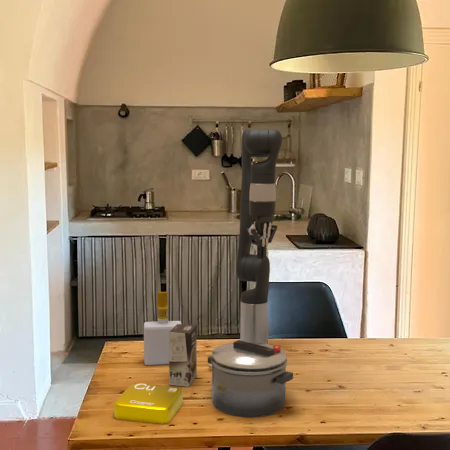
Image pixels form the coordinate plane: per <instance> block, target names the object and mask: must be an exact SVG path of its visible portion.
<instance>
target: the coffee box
mask: <svg viewBox="0 0 450 450" xmlns="http://www.w3.org/2000/svg"><path fill="white" fill-rule="evenodd" d="M197 328H198V327H197V324H188V323H187V324H182V323H181V324H177V325H176V326H175V327H174V328H173V329H172V330H171V331H170V332H169V364H168V386H175V387H178V386H179V387H186V388H188V387H190V386H191V385H192V383H193V381H194V380H195V379H196V377H197V372H198V371H197V366H198V365H197V364H198V363H197V361H198V359H197V357H198V356H197V355H198V352H197V348H198V347H197V346H198V344H197V343H198V342H197V341H198V339H197V337H198V336H197V334H198V333H197Z"/></svg>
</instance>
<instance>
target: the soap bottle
mask: <svg viewBox="0 0 450 450" xmlns="http://www.w3.org/2000/svg"><path fill="white" fill-rule="evenodd" d="M168 293H169V292H168V291H157V310H158V312H159V313H160V314H158V315H157V321H145V322H144V323H143V358H144V360H143V361H144V365H145V366H156V365H157V366H158V365H159V366H161V365H169V332H170V331H171V330H172V329H173V328H174V327H175V326H176V325H177V324H182V321H181V320H169V315H168V314H166V313H167V312H168V310H169V306H168V304H169V303H168Z"/></svg>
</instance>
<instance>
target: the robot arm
mask: <svg viewBox="0 0 450 450" xmlns="http://www.w3.org/2000/svg"><path fill="white" fill-rule="evenodd" d="M282 144H283V137H282V133H281V132H280V131H279V130H278V129H275V128H250V129H249V128H248V129H247V128H245V129H244V130H243V132H242V135H241V185H240V186H241V188H240V200H239V201H240V202H239V234H238V235H239V236H238V237H239V238H238V245H237V252H236V253H237V254H236V265H235V266H236V267H235V273H236V277H237V279H238V280H239V281H244V282H251V283H252V282H253V283H255V287H254V288H252V289H248V290H244V291H242V292H241V294H240V327H239V328H240V332H239V333H240V334H239V335H240V336H239V340H240V341H244V342H258V343H265V344H269V323H270V322H269V321H268V308H269V307H268V303H269V299H268V298H269V291H270V290H269V288H270V287H269V286H270V274H271V263H270V262H271V261H270V259H269V257H268V256H267V255H268V254H267V251H268V250H267V249H268V248H267V247H268V245H269V244H271V243H272V242H273V239H274V237H275V234H276V232H277V229H278V225H277V224H274V220H273V217H274V216H275V215H276V201H277V200H276V197H277V196H276V195H277V193H276V192H277V191H276V166H277V162H278V161H277V160H278V156H279V153H280V150H281V147H282ZM251 158H267V159H265V160H263V161H258V162H254V163H252V159H251ZM252 245H255V247H256V254H252V253H251V247H252Z"/></svg>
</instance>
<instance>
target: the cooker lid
mask: <svg viewBox="0 0 450 450" xmlns="http://www.w3.org/2000/svg"><path fill="white" fill-rule="evenodd" d="M211 354H212V355H211V356H212V358H213V360H214V361H215V362H217V363H219V364H221V365H224V366H227V367H231V368H237V369H247V370H259V369H268V368H273V367H277V366H280V365H282V364H283V363H284V362H285V361H286V358H287V353H286V351H285V350H284V349H282V348H281V345H278V344H277V345H273V344H269V343H268V344H265V343H258V342H244V341H240V339H239V340H236V341H233V342H228V343H224V344H221V345H217V346H216V347H215V348H213V350H212V353H211Z"/></svg>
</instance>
